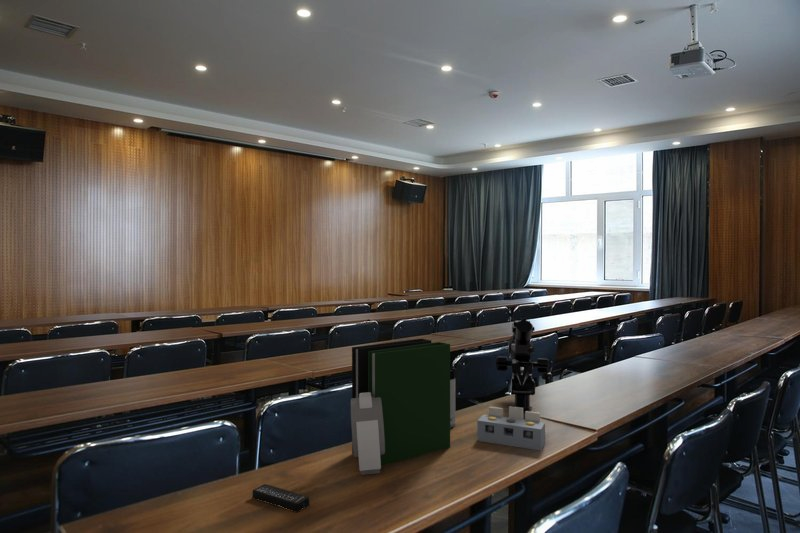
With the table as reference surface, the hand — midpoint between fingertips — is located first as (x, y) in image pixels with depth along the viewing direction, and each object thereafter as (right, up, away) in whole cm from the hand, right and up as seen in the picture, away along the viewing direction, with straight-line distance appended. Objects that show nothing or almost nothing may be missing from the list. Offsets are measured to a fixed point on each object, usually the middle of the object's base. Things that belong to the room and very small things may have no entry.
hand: (521, 384), depth 177 cm
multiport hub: (-72, -15, -57) cm, 93 cm away
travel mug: (-27, -14, -2) cm, 30 cm away
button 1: (-13, -11, -15) cm, 22 cm away
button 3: (-2, -11, -20) cm, 23 cm away
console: (-8, -14, -18) cm, 24 cm away
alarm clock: (-52, -14, -37) cm, 65 cm away
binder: (-43, -14, -25) cm, 52 cm away
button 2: (-6, -11, -14) cm, 19 cm away
